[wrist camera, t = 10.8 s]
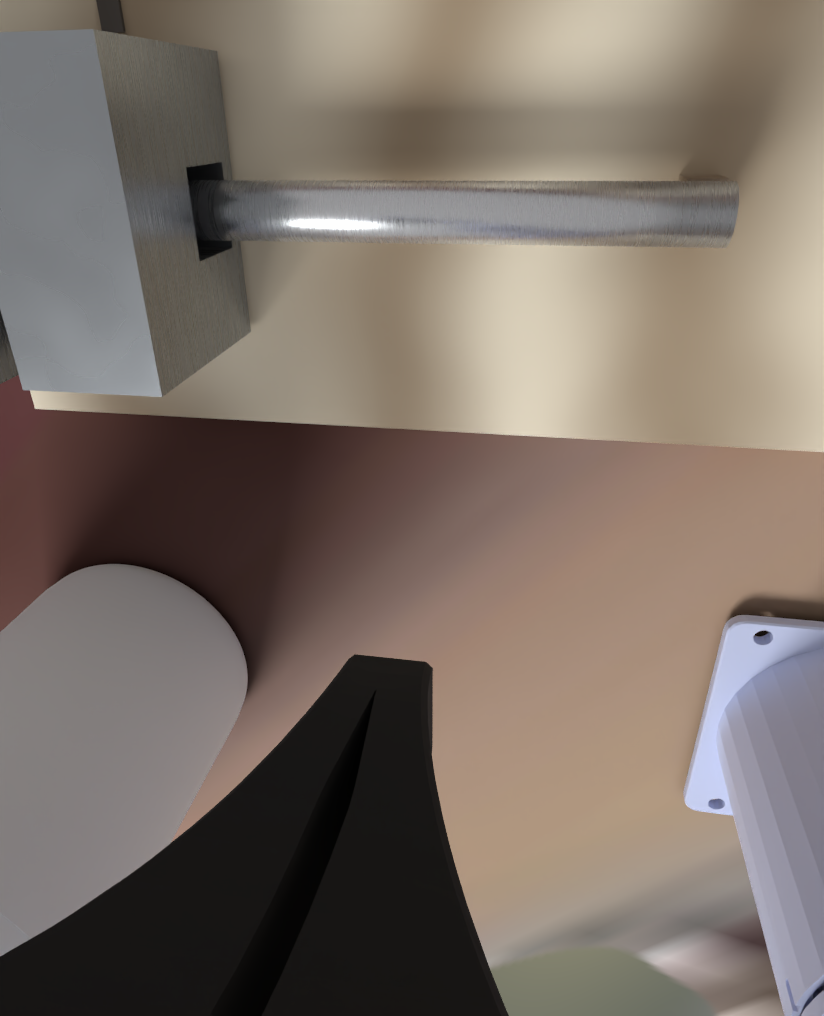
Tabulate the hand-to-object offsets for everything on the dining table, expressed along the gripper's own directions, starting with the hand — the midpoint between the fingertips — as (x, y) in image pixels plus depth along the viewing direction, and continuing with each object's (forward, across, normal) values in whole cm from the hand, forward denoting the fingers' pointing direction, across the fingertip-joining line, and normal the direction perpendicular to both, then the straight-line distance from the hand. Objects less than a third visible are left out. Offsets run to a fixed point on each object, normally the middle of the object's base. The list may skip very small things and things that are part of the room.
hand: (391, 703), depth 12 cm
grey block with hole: (+8, +7, -7) cm, 13 cm away
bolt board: (+9, 0, -7) cm, 12 cm away
